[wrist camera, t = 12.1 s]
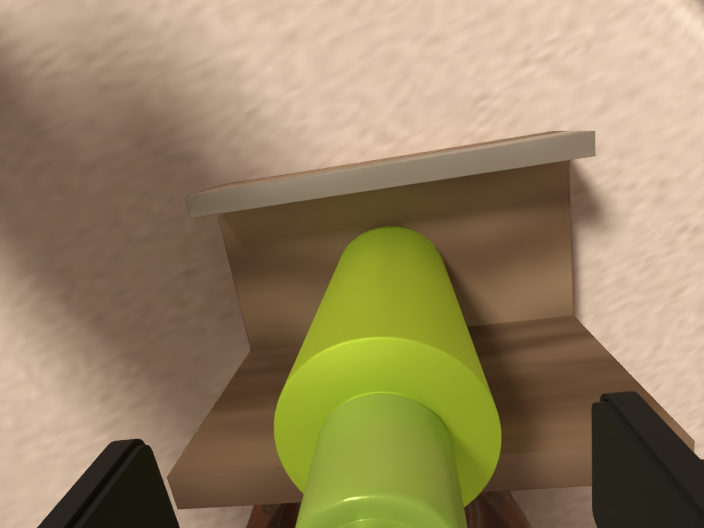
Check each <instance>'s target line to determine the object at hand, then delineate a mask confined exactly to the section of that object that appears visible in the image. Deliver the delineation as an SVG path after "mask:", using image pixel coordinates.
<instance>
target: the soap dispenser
mask: <svg viewBox="0 0 704 528" xmlns="http://www.w3.org/2000/svg"><path fill="white" fill-rule="evenodd" d="M274 438H275V444H276V449H277V452H278V455H279V458H280V460H281V463H282V465H283V467H284V469H285V471H286V472H287V474H288V476H289V477H290V479H291V480H292V481H293V483H294V484H295V485H296V486H297V488H298V489H299V490H300V491H301V492H302V493H303V494H304V495H303V499H302V503H301V507H300V511H299V514H298V518H297V522H296V526H295V528H467V522H466V517H465V511H464V507H465V506H467V505H468V504H469V503H470V502H471V501H473V500H474V499H475V498H476V497H477V496H478V495H479V493H480V492H481V491H482V490H483V489H484V487H485V486H486V485H487V483H488V482H489V480H490V478H491V477H492V475H493V473H494V470H495V468H496V465H497V463H498V459H499V455H500V450H501V425H500V420H499V415H498V412H497V409H496V406H495V403H494V400H493V398H492V395H491V392H490V389H489V386H488V384H487V381H486V378H485V375H484V373H483V370H482V367H481V364H480V362H479V359H478V356H477V353H476V350H475V348H474V345H473V342H472V339H471V337H470V334H469V331H468V328H467V326H466V323H465V320H464V317H463V314H462V312H461V309H460V306H459V303H458V301H457V298H456V295H455V292H454V290H453V287H452V284H451V281H450V278H449V276H448V273H447V270H446V267H445V265H444V262H443V259H442V257H441V255H440V253H439V251H438V250H437V249H436V247H435V246H434V245H433V244H432V243H431V242H430V241H429V240H428V239H427V238H426V237H424V236H423V235H422V234H420V233H418V232H416V231H414V230H411V229H409V228H405V227H400V226H382V227H377V228H373V229H371V230H368V231H366V232H364V233H362V234H361V235H359V236H358V237H356V238H355V239H354V240H353V241H352V242H351V243H350V244H349V245H348V246H347V248H346V249H345V250H344V252H343V254H342V256H341V258H340V260H339V263H338V265H337V267H336V269H335V272H334V274H333V276H332V278H331V281H330V283H329V285H328V288H327V290H326V292H325V294H324V297H323V299H322V301H321V304H320V306H319V308H318V310H317V313H316V315H315V317H314V320H313V322H312V324H311V326H310V329H309V331H308V333H307V335H306V338H305V340H304V342H303V345H302V347H301V349H300V351H299V354H298V356H297V358H296V361H295V363H294V365H293V367H292V370H291V372H290V374H289V377H288V379H287V381H286V383H285V386H284V388H283V390H282V392H281V395H280V397H279V400H278V403H277V407H276V411H275V417H274Z"/></svg>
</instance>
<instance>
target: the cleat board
mask: <svg viewBox="0 0 704 528" xmlns="http://www.w3.org/2000/svg"><path fill="white" fill-rule="evenodd" d="M592 156H595V131H552V132H546V133H539V134H533V135H527V136H521V137H515V138H509V139H502V140H496V141H490V142H484V143H478V144H472V145H465V146H459V147H453V148H447V149H441V150H435V151H428V152H422V153H416V154H410V155H404V156H398V157H391V158H385V159H379V160H373V161H367V162H361V163H354V164H348V165H342V166H336V167H330V168H324V169H317V170H311V171H305V172H299V173H293V174H287V175H280V176H274V177H268V178H262V179H256V180H250V181H243V182H237V183H231V184H225V185H222V186H219V187H215V188H212V189H209V190H206V191H202V192H199V193H196V194H193V195H190V196H186V197H185V198H186V201H187V205H188V209H189V213H190V216H191V218H193V217H200V216H206V215H213V214H217V215H218V219H219V223H220V227H221V231H222V235H223V239H224V243H225V247H226V251H227V255H228V259H229V263H230V267H231V271H232V275H233V279H234V283H235V287H236V291H237V295H238V299H239V303H240V307H241V311H242V315H243V319H244V323H245V328H246V332H247V336H248V340H249V344H250V348H251V351H250V352H249V354H248V355H247V357H246V358H245V360H244V361H243V363H242V364H241V366H240V367H239V369H238V370H237V372H236V373H235V375H234V376H233V378H232V380H231V381H230V383H229V384H228V386H227V387H226V389H225V390H224V392H223V393H222V395H221V396H220V398H219V399H218V401H217V402H216V404H215V405H214V407H213V408H212V410H211V411H210V413H209V414H208V416H207V417H206V419H205V420H204V422H203V423H202V425H201V426H200V428H199V429H198V431H197V432H196V434H195V435H194V437H193V438H192V440H191V441H190V443H189V444H188V446H187V447H186V449H185V450H184V452H183V454H182V455H181V457H180V458H179V460H178V461H177V463H176V464H175V466H174V467H173V469H172V470H171V472H170V473H169V475H168V476H167V479H168V482H169V485H170V488H171V491H172V494H173V497H174V500H175V503H176V506H177V509H193V508H210V507H227V506H245V505H262V504H280V503H297V502H302V499H303V495H304V494H303V493H302V492H301V491H300V490H299V489H298V488H297V486H296V485H295V484H294V483H293V481H292V480H291V479H290V477H289V476H288V474H287V472H286V471H285V469H284V467H283V465H282V463H281V460H280V458H279V455H278V452H277V449H276V444H275V438H274V417H275V411H276V407H277V403H278V400H279V397H280V395H281V392H282V390H283V388H284V386H285V383H286V381H287V379H288V377H289V374H290V372H291V370H292V367H293V365H294V363H295V361H296V358H297V356H298V354H299V351H300V349H301V347H302V345H303V342H304V340H305V338H306V335H307V333H308V331H309V329H310V326H311V324H312V322H313V320H314V317H315V315H316V313H317V310H318V308H319V306H320V304H321V301H322V299H323V297H324V294H325V292H326V290H327V288H328V285H329V283H330V281H331V278H332V276H333V274H334V272H335V269H336V267H337V265H338V263H339V260H340V258H341V256H342V254H343V252H344V250H345V249H346V248H347V246H348V245H349V244H350V243H351V242H352V241H353V240H354V239H355V238H356V237H358V236H359V235H361V234H362V233H364V232H366V231H368V230H371V229H373V228H377V227H382V226H400V227H405V228H409V229H411V230H414V231H416V232H418V233H420V234H422V235H423V236H424V237H426V238H427V239H428V240H429V241H430V242H431V243H432V244H433V245H434V246H435V247H436V249H437V250H438V251H439V253H440V255H441V257H442V259H443V262H444V265H445V267H446V270H447V273H448V276H449V278H450V281H451V284H452V287H453V290H454V292H455V295H456V298H457V301H458V303H459V306H460V309H461V312H462V314H463V317H464V320H465V323H466V326H467V328H468V331H469V334H470V337H471V339H472V342H473V345H474V348H475V350H476V353H477V356H478V359H479V362H480V364H481V367H482V370H483V373H484V375H485V378H486V381H487V384H488V386H489V389H490V392H491V395H492V398H493V400H494V403H495V406H496V409H497V412H498V415H499V420H500V425H501V450H500V455H499V459H498V463H497V465H496V468H495V470H494V473H493V475H492V477H491V478H490V480H489V482H488V483H487V485H486V486H485V487H484V489H483V490H482V491H481V492H489V491H506V490H524V489H541V488H559V487H576V486H592V413H591V409H592V404H593V403H594V402H600V397H601V395H602V394H604V393H614V392H625V391H635V392H637V393H638V394H639V395H640V396H641V397H642V398H643V399H644V400H645V401H646V402H647V403H648V404H649V406H650V407H651V408H652V409H653V410H654V411H655V412H656V413H657V414H658V415H659V416H660V417H661V418H662V419H663V420H664V421H665V422H666V424H667V425H668V426H669V427H670V428H671V429H672V430H673V431H674V432H675V433H676V434H677V435H678V436H679V437H680V438H681V439H682V440H683V442H684V443H685V444H686V445H687V446H688V447H689V448H690V449H691V450H692V451H693V452H694V442H695V441H694V440H693V439H692V438H691V437H690V436H689V435H688V434H687V433H686V432H685V431H684V430H683V428H682V427H681V426H680V425H679V424H678V423H677V422H676V421H675V420H674V419H673V418H672V417H671V416H670V415H669V414H668V413H667V412H666V411H665V410H664V409H663V408H662V407H661V406H660V405H659V404H658V403H657V402H656V401H655V399H654V398H653V397H652V396H651V395H650V394H649V393H648V392H647V391H646V390H645V389H644V388H643V387H642V386H641V385H640V384H639V383H638V382H637V381H636V380H635V379H634V378H633V377H632V376H631V375H630V374H629V373H628V372H627V370H626V369H625V368H624V367H623V366H622V365H621V364H620V363H619V362H618V361H617V360H616V359H615V358H614V357H613V356H612V355H611V354H610V353H609V352H608V351H607V350H606V349H605V348H604V347H603V346H602V345H601V344H600V343H599V342H598V340H597V339H596V338H595V337H594V336H593V335H592V334H591V333H590V332H589V331H588V330H587V329H586V328H585V327H584V326H583V325H582V324H581V323H580V322H579V321H578V320H577V319H576V318H575V317H574V316H573V291H572V256H571V222H570V188H569V160H572V159H579V158H585V157H592Z"/></svg>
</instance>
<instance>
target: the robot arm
mask: <svg viewBox="0 0 704 528" xmlns="http://www.w3.org/2000/svg"><path fill="white" fill-rule="evenodd" d="M591 413H592V510H593V516H594V519H595V523H596V525H597V528H704V460H703V459H702V460H700V459H699V457H698V456H697V455H696V454H695V453H694V452H693V451H692V450H691V449H690V448H689V447H688V446H687V445H686V444H685V443H684V442H683V440H682V439H681V438H680V437H679V436H678V435H677V434H676V433H675V432H674V431H673V430H672V429H671V428H670V427H669V426H668V425H667V424H666V422H665V421H664V420H663V419H662V418H661V417H660V416H659V415H658V414H657V413H656V412H655V411H654V410H653V409H652V408H651V407H650V406H649V404H648V403H647V402H646V401H645V400H644V399H643V398H642V397H641V396H640V395H639V394H638V393H637V392H635V391H625V392H614V393H604V394H602V395H601V397H600V402H594V403H593V404H592V409H591ZM37 528H180V527H179V524H178V521H177V519H176V516H175V513H174V510H173V507H172V505H171V502H170V499H169V496H168V493H167V490H166V488H165V485H164V482H163V479H162V476H161V474H160V471H159V468H158V465H157V462H156V460H155V457H154V454H153V451H152V449H151V447H150V446H149V445H145V443H144V442H143V441H142V440H141V439H130V440H119V441H114V442H111V443H110V444H109V445H108V446H107V447H106V448H105V449H104V450H103V452H102V453H101V454H100V455H99V456H98V457H97V459H96V460H95V461H94V462H93V463H92V464H91V466H90V467H89V468H88V469H87V470H86V471H85V472H84V474H83V475H82V476H81V477H80V478H79V479H78V481H77V482H76V483H75V484H74V485H73V486H72V488H71V489H70V490H69V491H68V492H67V493H66V495H65V496H64V497H63V498H62V499H61V500H60V502H59V503H58V504H57V505H56V506H55V507H54V509H53V510H52V511H51V512H50V513H49V514H48V516H47V517H46V518H45V519H44V520H43V521H42V523H41V524H40V525H39V526H38V527H37Z"/></svg>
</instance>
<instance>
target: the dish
mask: <svg viewBox="0 0 704 528" xmlns="http://www.w3.org/2000/svg"><path fill="white" fill-rule="evenodd" d="M301 503H302V502H297V503H280V504H262V505H255V506H254V508H253V510H252V514H251V517H250V519H249V522H248V524H247V527H246V528H295V526H296V522H297V518H298V514H299V511H300V507H301ZM464 511H465V517H466V522H467V528H531V526H530V524H529V521H528V520H527V518H526V516H525V515H524V513H523V512H522V510H521V509H520V507H519V506H518V504H517V503H516V501H515V500H514V499H513V497H512V495H511V493H510V491H509V490H506V491H489V492H480V493H479V495H478V496H477V497H476V498H475V499H474V500H473V501H471V502H470V503H469V504H468V505H467V506H465V507H464Z"/></svg>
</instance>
